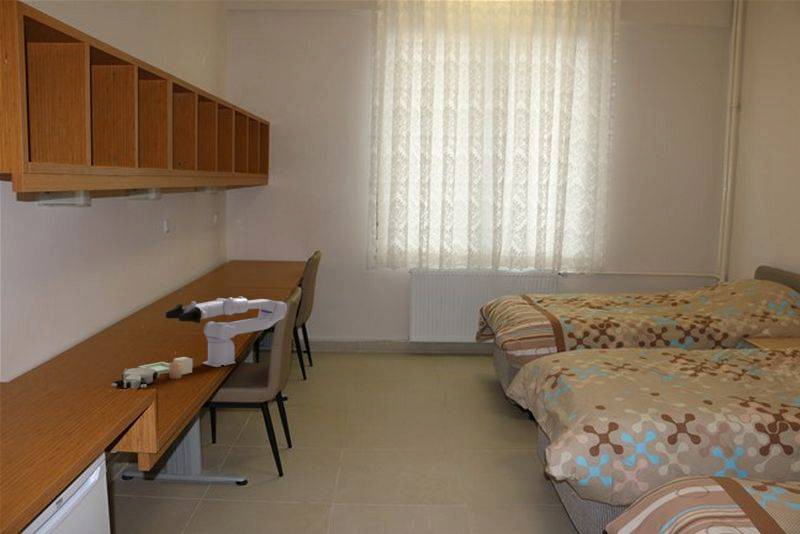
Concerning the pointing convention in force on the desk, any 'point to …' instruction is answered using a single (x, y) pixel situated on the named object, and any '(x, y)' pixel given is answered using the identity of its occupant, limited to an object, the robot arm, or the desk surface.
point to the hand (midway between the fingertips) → (172, 316)
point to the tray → (158, 367)
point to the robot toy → (136, 378)
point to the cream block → (185, 364)
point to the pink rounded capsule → (175, 370)
